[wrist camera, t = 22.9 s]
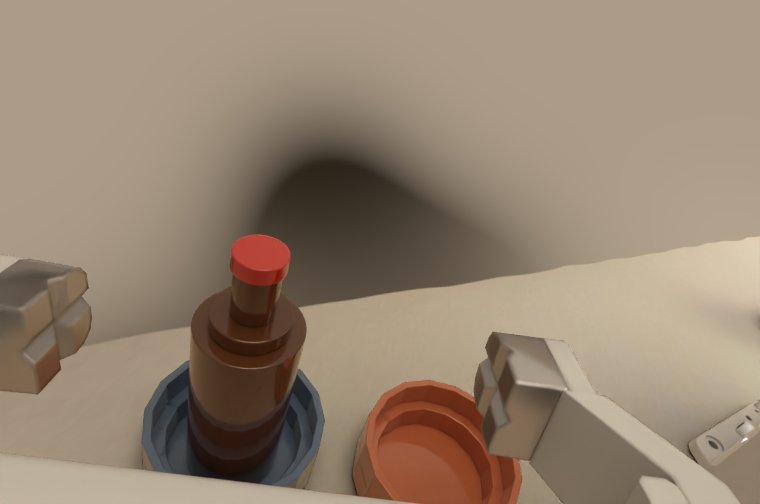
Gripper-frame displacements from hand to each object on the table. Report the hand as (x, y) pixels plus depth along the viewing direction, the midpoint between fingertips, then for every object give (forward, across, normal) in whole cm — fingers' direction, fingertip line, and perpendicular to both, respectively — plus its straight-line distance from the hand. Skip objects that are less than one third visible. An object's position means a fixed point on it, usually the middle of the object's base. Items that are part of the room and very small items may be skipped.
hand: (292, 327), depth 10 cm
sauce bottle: (+15, +4, +22) cm, 27 cm away
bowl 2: (+16, -9, +24) cm, 30 cm away
